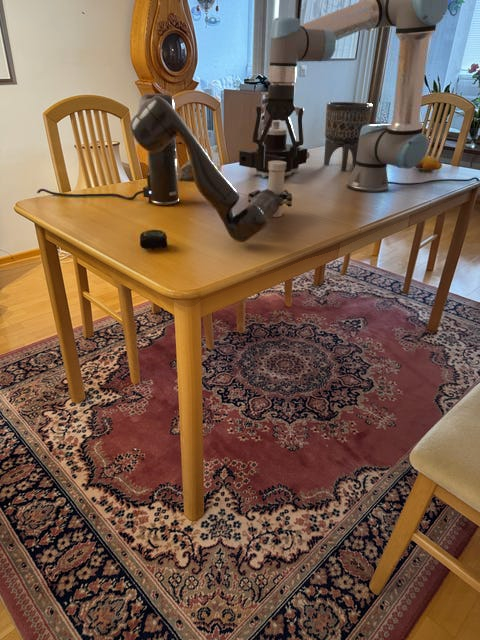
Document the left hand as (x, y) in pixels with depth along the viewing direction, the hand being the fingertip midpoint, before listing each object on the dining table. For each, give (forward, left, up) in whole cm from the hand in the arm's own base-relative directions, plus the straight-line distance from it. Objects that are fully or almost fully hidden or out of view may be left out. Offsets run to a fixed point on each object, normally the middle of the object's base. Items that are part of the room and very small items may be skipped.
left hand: (277, 192), depth 144 cm
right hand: (0, -3, +8) cm, 8 cm away
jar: (0, -3, -7) cm, 7 cm away
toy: (+49, +90, -7) cm, 102 cm away
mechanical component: (-12, +56, -7) cm, 58 cm away
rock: (-42, +33, -7) cm, 54 cm away
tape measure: (-22, -42, -7) cm, 48 cm away
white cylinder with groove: (0, -3, +9) cm, 10 cm away
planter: (+12, +80, -7) cm, 81 cm away
